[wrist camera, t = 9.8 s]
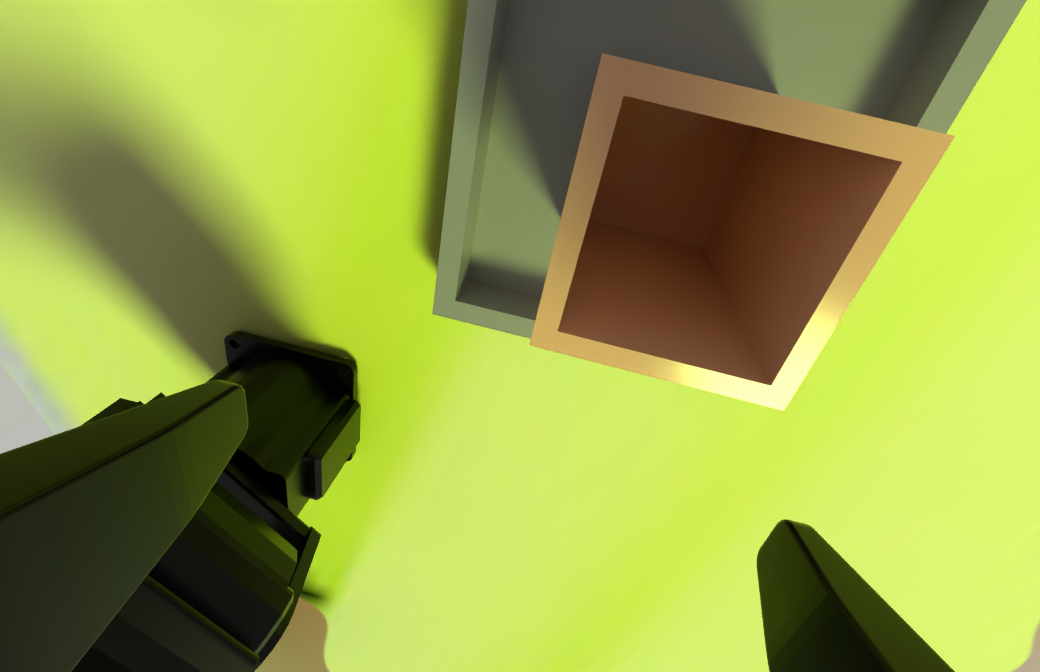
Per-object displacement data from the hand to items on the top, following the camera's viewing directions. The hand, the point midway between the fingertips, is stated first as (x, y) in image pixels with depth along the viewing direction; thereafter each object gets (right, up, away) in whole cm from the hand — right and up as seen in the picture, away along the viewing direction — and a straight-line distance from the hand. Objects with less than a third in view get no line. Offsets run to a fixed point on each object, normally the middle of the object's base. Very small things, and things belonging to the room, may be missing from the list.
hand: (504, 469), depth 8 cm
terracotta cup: (+5, +8, +9) cm, 13 cm away
